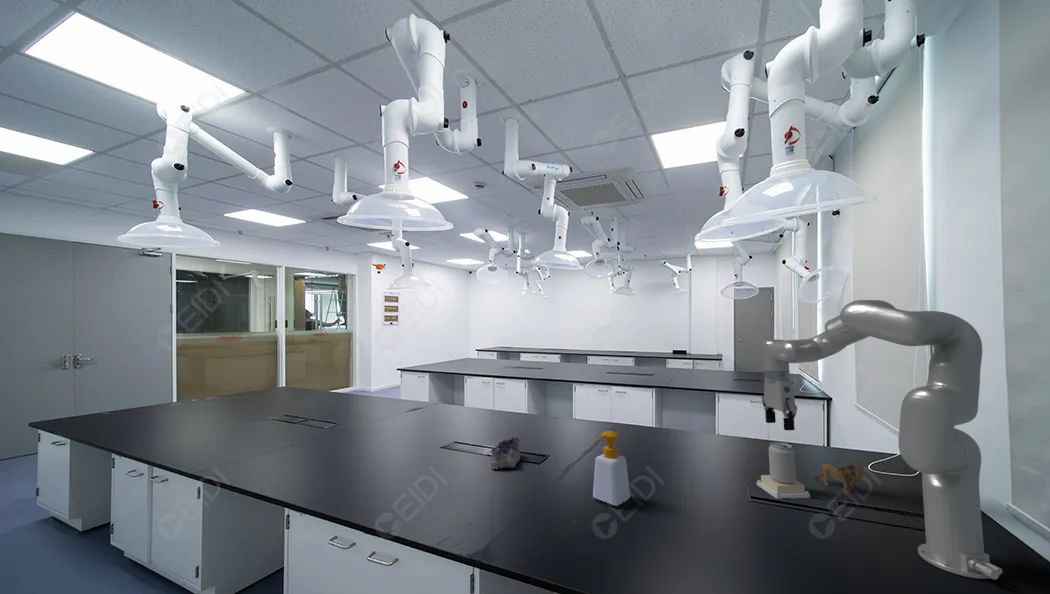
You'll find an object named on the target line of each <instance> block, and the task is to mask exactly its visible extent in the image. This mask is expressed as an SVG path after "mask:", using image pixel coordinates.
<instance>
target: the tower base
mask: <svg viewBox="0 0 1050 594" xmlns="http://www.w3.org/2000/svg"><path fill="white" fill-rule="evenodd" d="M756 486H757V487H759V488H761V489H762V490H763V491H765V492H766V493H767V494H769V495H771V496H772V497H774V498H775V499H776V500H777V499H778V500H780V499H781V500H783V498H784V499H785V498H787V499H788V498H790V499H810V498H811V494H810V491H808V490H805V484H803V483H801V482H800V481H798V480H796V481H795V482H793V483H792V484H783V483H779V482H776V481H774V480H773V479H772V478H771V477H770V474H761V475H760V479H757V481H756Z"/></svg>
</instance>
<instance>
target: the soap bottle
mask: <svg viewBox="0 0 1050 594" xmlns="http://www.w3.org/2000/svg"><path fill="white" fill-rule="evenodd" d="M618 437H619V434H618V433H616V431H615V432H614V431H612V430H607V431H604V432H602V433H601V436H600V437H599V438H597V439H595V440H594V441H593V444H596V443H597V442H598V441H600V440H601V439H603V440H604V441H605V442H607V445H604V446H603V448H602V449H603V454H600V455H598V456H596V457H595V460H594V461H595V462H594V475H593V476H594V477H593V490H592V498H593V497H594V498H596V499H599V500H601V501H604V502H607V503H609V504H612V505H615V506H618V505H620V504H621V505H622V503H623V502H624V503H626V502H628V501H629V500H630V499H629V498H631V490H630V482H629V474H628V473H629V472H628V467H627V465H628V464H627V461H626V460H627V459H626V457H625V456H623V455H619V454H618V447H617V446H614V444H613V442H616V441H617V438H618ZM594 498H593V499H594ZM628 499H629V500H628ZM627 500H628V501H627ZM625 501H626V502H625ZM624 503H623V504H624ZM621 505H620V506H621ZM618 507H619V506H618Z"/></svg>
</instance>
